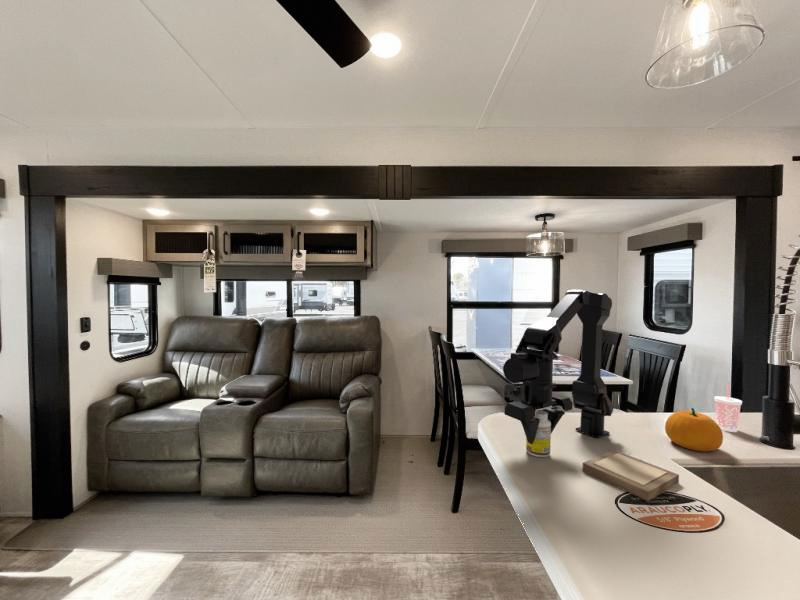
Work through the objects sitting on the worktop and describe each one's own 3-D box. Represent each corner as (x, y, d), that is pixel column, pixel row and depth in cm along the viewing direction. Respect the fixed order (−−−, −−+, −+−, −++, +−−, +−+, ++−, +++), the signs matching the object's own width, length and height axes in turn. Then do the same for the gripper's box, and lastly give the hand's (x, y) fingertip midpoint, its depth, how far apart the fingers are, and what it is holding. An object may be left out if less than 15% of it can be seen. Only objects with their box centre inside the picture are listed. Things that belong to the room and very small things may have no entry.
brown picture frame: (614, 457, 84) (614, 449, 84) (678, 483, 73) (678, 473, 73) (582, 470, 77) (582, 461, 77) (648, 501, 66) (648, 490, 66)
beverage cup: (711, 428, 104) (713, 381, 104) (714, 423, 108) (715, 378, 108) (740, 434, 99) (742, 386, 99) (741, 429, 104) (743, 382, 103)
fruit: (658, 443, 93) (659, 406, 92) (671, 433, 100) (673, 398, 100) (716, 461, 83) (718, 419, 83) (727, 448, 90) (728, 410, 90)
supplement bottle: (526, 446, 89) (527, 407, 89) (549, 450, 87) (550, 410, 87) (525, 455, 84) (526, 413, 84) (550, 460, 82) (551, 417, 82)
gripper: (536, 368, 97) (535, 423, 97) (488, 375, 87) (486, 436, 88) (574, 376, 87) (572, 438, 88) (524, 385, 78) (522, 454, 78)
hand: (538, 440), depth 86 cm, fingers closed on supplement bottle, 5 cm apart
